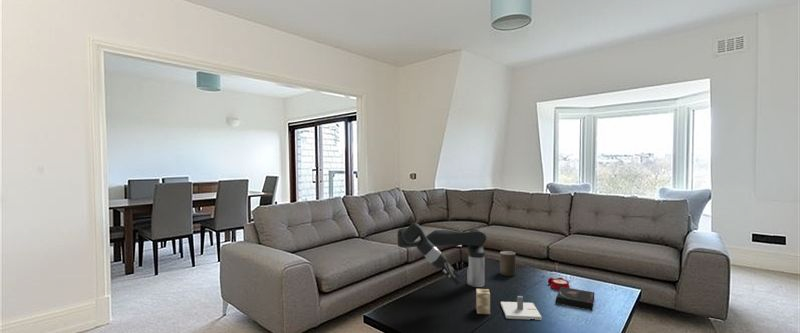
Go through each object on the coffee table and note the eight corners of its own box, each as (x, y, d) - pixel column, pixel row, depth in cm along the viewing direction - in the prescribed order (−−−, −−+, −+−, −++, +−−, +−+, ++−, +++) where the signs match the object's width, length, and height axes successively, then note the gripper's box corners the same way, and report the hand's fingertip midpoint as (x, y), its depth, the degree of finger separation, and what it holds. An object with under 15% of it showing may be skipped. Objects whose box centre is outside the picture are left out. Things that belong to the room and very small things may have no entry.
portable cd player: (559, 293, 203) (559, 286, 203) (594, 299, 194) (594, 292, 194) (555, 304, 189) (555, 296, 189) (592, 311, 180) (592, 303, 180)
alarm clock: (556, 285, 204) (545, 271, 218) (555, 295, 205) (544, 280, 220) (574, 285, 204) (562, 271, 219) (573, 295, 206) (560, 280, 220)
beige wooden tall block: (477, 313, 177) (477, 292, 176) (476, 308, 183) (476, 288, 182) (489, 314, 176) (490, 293, 176) (488, 308, 182) (488, 288, 182)
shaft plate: (506, 318, 171) (506, 302, 171) (500, 304, 187) (500, 290, 187) (541, 320, 170) (541, 304, 169) (532, 305, 186) (533, 291, 185)
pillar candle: (516, 276, 229) (516, 253, 229) (500, 275, 231) (500, 252, 231) (514, 272, 239) (514, 249, 239) (499, 271, 241) (499, 248, 241)
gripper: (430, 258, 189) (452, 280, 188) (429, 266, 174) (453, 291, 174) (440, 248, 188) (463, 271, 187) (440, 255, 174) (465, 280, 173)
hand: (458, 280), depth 180 cm, fingers open, 8 cm apart
